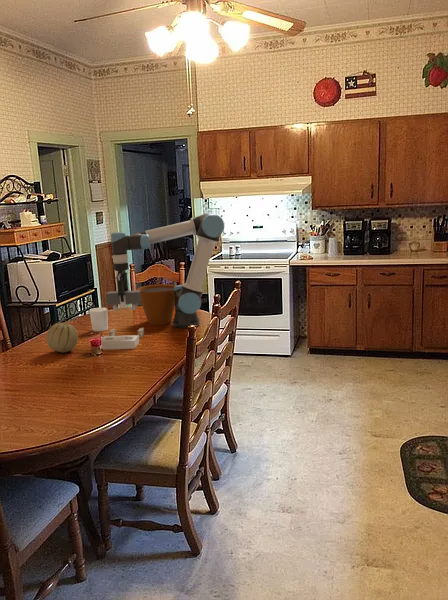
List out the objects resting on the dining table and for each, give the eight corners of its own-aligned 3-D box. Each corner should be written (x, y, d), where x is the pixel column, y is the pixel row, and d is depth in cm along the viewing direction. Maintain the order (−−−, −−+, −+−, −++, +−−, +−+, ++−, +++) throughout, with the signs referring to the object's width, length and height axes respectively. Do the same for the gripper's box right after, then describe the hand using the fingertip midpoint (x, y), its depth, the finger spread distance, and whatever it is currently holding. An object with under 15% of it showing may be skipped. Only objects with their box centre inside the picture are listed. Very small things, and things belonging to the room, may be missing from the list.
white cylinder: (107, 332, 293) (105, 311, 291) (89, 332, 294) (87, 311, 291) (111, 327, 303) (109, 307, 301) (94, 328, 303) (92, 307, 301)
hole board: (139, 342, 270) (138, 335, 269) (135, 348, 261) (134, 340, 260) (104, 343, 271) (103, 336, 271) (99, 349, 262) (98, 341, 261)
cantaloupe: (41, 354, 258) (37, 324, 255) (63, 346, 271) (60, 317, 267) (64, 357, 251) (60, 327, 248) (85, 349, 264) (82, 319, 261)
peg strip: (142, 307, 280) (140, 290, 278) (140, 310, 276) (138, 292, 274) (110, 309, 282) (108, 291, 280) (107, 311, 277) (106, 293, 275)
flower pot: (136, 319, 320) (134, 286, 316) (175, 314, 327) (173, 282, 322) (142, 328, 298) (140, 293, 293) (184, 323, 304) (182, 289, 300)
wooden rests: (144, 335, 284) (143, 327, 283) (141, 338, 278) (141, 331, 277) (112, 336, 285) (111, 328, 284) (109, 339, 279) (108, 331, 278)
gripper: (117, 260, 282) (121, 302, 287) (108, 265, 265) (113, 310, 270) (131, 259, 282) (135, 302, 287) (123, 264, 264) (127, 310, 269)
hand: (124, 306), depth 278 cm, fingers closed on peg strip, 5 cm apart
